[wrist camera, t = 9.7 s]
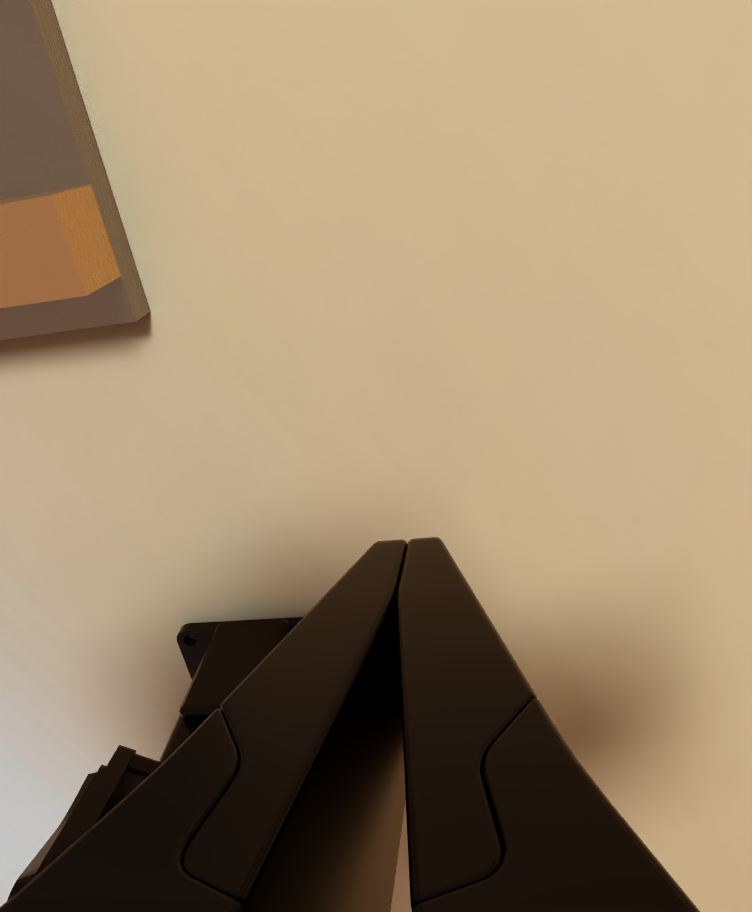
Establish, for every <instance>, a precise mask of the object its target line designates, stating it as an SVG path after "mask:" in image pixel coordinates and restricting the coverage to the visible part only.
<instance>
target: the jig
mask: <svg viewBox="0 0 752 912" xmlns="http://www.w3.org/2000/svg"><path fill="white" fill-rule="evenodd" d="M149 312H150V310H149V307H148V304H147V300H146V297H145V294H144V291H143V288H142V285H141V282H140V279H139V275H138V272H137V269H136V266H135V263H134V260H133V257H132V254H131V250H130V247H129V244H128V241H127V238H126V235H125V232H124V229H123V225H122V222H121V219H120V216H119V213H118V210H117V207H116V204H115V200H114V197H113V194H112V191H111V188H110V185H109V182H108V179H107V175H106V172H105V169H104V166H103V163H102V160H101V157H100V154H99V150H98V147H97V144H96V141H95V138H94V135H93V132H92V129H91V125H90V122H89V119H88V116H87V113H86V110H85V107H84V104H83V100H82V97H81V94H80V91H79V88H78V85H77V82H76V78H75V75H74V72H73V69H72V66H71V63H70V60H69V57H68V53H67V50H66V47H65V44H64V41H63V38H62V35H61V32H60V28H59V25H58V22H57V19H56V16H55V13H54V10H53V7H52V3H51V0H0V340H6V339H13V338H21V337H28V336H35V335H42V334H50V333H57V332H64V331H72V330H79V329H86V328H94V327H101V326H108V325H115V324H123V323H130V322H136V321H138V320H139V319H140V318H142V317H143V316H145V315H146V314H147V313H149Z"/></svg>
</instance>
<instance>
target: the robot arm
mask: <svg viewBox="0 0 752 912" xmlns="http://www.w3.org/2000/svg"><path fill="white" fill-rule="evenodd" d="M189 636H192V637H193V638H191V637H189ZM194 638H195V639H194ZM177 642H178V645H179V647H180V650H181V652H182V655H183V658H184V660H185V663H186V665H187V668H188V671H189V673H190V676H191V678H192V682H191V685H190V687H189V689H188V691H187V693H186V696H185V698H184V700H183V702H182V705H181V707H180V716H179V718H178V720H177V722H176V725H175V727H174V729H173V731H172V734H171V736H170V738H169V740H168V743H167V745H166V747H165V749H164V752H163V754H162V756H161V758H160V761H156V760H153V759H150V758H147V757H144V756H141V755H138V754H136V750H133V749H130V748H127V747H124V746H121V745H119V747H118V748H117V750H116V752H115V753H114V755H113V757H112V758H111V760H110V762H109V763H108V765H107V766H104V765H101V767H100V768H99V770H98V772H96V773H92V774H88V776H87V778H86V779H85V781H84V783H83V785H82V787H81V789H80V791H79V792H78V794H77V796H76V798H75V800H74V802H73V804H72V805H71V807H70V809H69V811H68V812H67V814H66V816H65V818H64V819H63V821H62V822H61V824H60V825H59V827H58V828H57V830H56V831H55V832H54V833H53V835H52V836H51V837H50V839H49V840H48V841H47V842H46V844H45V845H44V846H43V847H42V849H41V850H40V851H39V852H38V854H37V855H36V856H35V858H34V859H33V860H32V861H31V863H30V864H29V865H28V866H27V868H26V869H25V870H24V872H23V873H22V874H21V875H20V877H19V878H18V879H17V881H16V883H15V885H14V886H13V888H12V890H11V893H10V895H9V897H8V900H7V902H6V903H5V904H4V905H2V906H1V907H0V912H390V910H391V902H392V895H393V887H394V880H395V873H396V865H397V858H398V851H399V843H400V836H401V828H402V821H403V814H404V806H405V799H406V815H407V836H408V857H409V878H410V899H411V908H412V912H700V911H699V910H698V908H697V907H696V906H695V905H694V904H693V902H692V901H691V900H690V899H689V897H688V896H687V895H686V894H685V893H684V891H683V890H682V889H681V888H680V887H679V885H678V884H677V883H676V882H675V880H674V879H673V878H672V877H671V876H670V874H669V873H668V872H667V871H666V869H665V868H664V867H663V866H662V865H661V863H660V862H659V861H658V860H657V859H656V857H655V856H654V855H653V854H652V852H651V851H650V850H649V849H648V848H647V846H646V845H645V844H644V843H643V842H642V840H641V839H640V838H639V837H638V835H637V834H636V833H635V832H634V831H633V829H632V828H631V827H630V826H629V825H628V823H627V822H626V821H625V820H624V818H623V817H622V816H621V815H620V814H619V812H618V811H617V810H616V809H615V807H614V806H613V805H612V804H611V803H610V801H609V800H608V799H607V797H606V796H605V795H604V794H603V792H602V791H601V790H600V788H599V787H598V786H597V785H596V783H595V782H594V781H593V779H592V778H591V777H590V775H589V774H588V773H587V772H586V770H585V769H584V768H583V766H582V765H581V764H580V762H579V761H578V760H577V758H576V757H575V755H574V754H573V752H572V751H571V749H570V748H569V746H568V745H567V743H566V742H565V740H564V739H563V737H562V736H561V734H560V733H559V731H558V730H557V728H556V727H555V725H554V723H553V722H552V720H551V719H550V717H549V715H548V714H547V712H546V710H545V709H544V707H543V705H542V704H541V702H540V701H539V700H537V697H536V695H535V693H534V691H533V690H532V688H531V686H530V685H529V683H528V681H527V680H526V678H525V676H524V675H523V673H522V672H521V670H520V668H519V667H518V665H517V663H516V662H515V660H514V658H513V657H512V655H511V653H510V652H509V650H508V649H507V647H506V645H505V644H504V642H503V640H502V639H501V637H500V635H499V634H498V632H497V630H496V629H495V627H494V626H493V624H492V622H491V621H490V619H489V617H488V616H487V614H486V612H485V611H484V609H483V607H482V606H481V604H480V603H479V601H478V599H477V598H476V596H475V594H474V593H473V591H472V589H471V588H470V586H469V584H468V583H467V581H466V579H465V578H464V576H463V575H462V573H461V571H460V570H459V568H458V566H457V565H456V563H455V561H454V560H453V558H452V556H451V555H450V553H449V552H448V550H447V548H446V547H445V545H444V543H443V542H442V540H441V539H440V538H438V537H432V538H419V539H412V540H410V541H409V542H408V543H407V542H406V541H405V540H391V541H379V542H376V543H375V544H373V545H372V546H371V547H370V548H369V549H368V550H367V552H366V553H365V554H364V555H363V556H362V557H361V558H360V559H359V560H358V561H357V562H356V563H355V564H354V565H353V566H352V567H351V568H350V569H349V570H348V571H347V573H346V574H345V575H344V576H343V577H342V578H341V579H340V580H339V581H338V582H337V583H336V584H335V585H334V586H333V587H332V588H331V589H330V590H329V591H328V592H327V593H326V595H325V596H324V597H323V598H322V599H321V600H320V601H319V602H318V603H317V604H316V605H315V606H314V607H313V608H312V609H311V610H310V611H309V612H308V613H307V614H306V616H305V617H298V618H279V619H261V620H243V621H225V622H206V623H189V624H185V625H184V626H182V628H181V630H180V632H179V634H178V636H177Z"/></svg>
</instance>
